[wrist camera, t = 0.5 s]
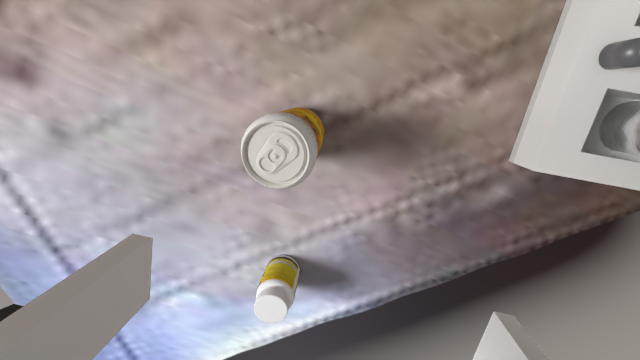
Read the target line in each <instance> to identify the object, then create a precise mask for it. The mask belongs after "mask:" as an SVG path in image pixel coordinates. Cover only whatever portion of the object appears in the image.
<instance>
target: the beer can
mask: <svg viewBox="0 0 640 360" xmlns="http://www.w3.org/2000/svg"><path fill="white" fill-rule="evenodd" d="M323 140H324V127H323V124H322V121H321V120H320V118H319V117H318V116H317V115H316V114H315V113H314V112H312V111H311V110H309V109H306V108H292V109H288V110H284V111H281V112H277V113H273V114H269V115H265V116H263V117H261V118H259V119H257V120H256V121H254V122H253V123H252V124H251V125H250V126H249V127H248V129H247V130H246V132H245V134H244V136H243V139H242V143H241V155H242V160H243V164H244V166H245V168H246V170H247V172H248V173H249V175H250V176H251V177H252V178H253V179H254V180H256V181H257V182H258V183H260V184H262V185H264V186H267V187H271V188H276V189H285V188H290V187H293V186H296V185H298V184H299V183H301V182H302V181H304V180H305V179H306V178H307V177H308V175H309V174H310V173H311V171H312V169H313V167H314V164H315V162H316V159H317V156H318V154H319V151H320V148H321V146H322V143H323Z"/></svg>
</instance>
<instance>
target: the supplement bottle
mask: <svg viewBox="0 0 640 360" xmlns="http://www.w3.org/2000/svg"><path fill="white" fill-rule="evenodd" d="M299 275H300V268H299V265H298V263H297V262H296V261H295V260H294V259H293V258H291V257H289V256H286V255H279V256H276V257H274V258H272V259H271V260H270V261H269V263H268V265H267V267H266V270H265V272H264V274H263V277H262V279H261V282H260V284H259V286H258V289H257V293H256V297H257V298H256V302H255V305H254V311H255V314H256V315H257V317H258V318H259V319H260V320H262V321H264V322H266V323H272V324H273V323H278V322H281V321H282V320H283V319H285V317H286V316H287V313H288V309H289V308H290V307H291V305H292V303H293V301H294V297H295V292H296V288H297V284H298V279H299Z"/></svg>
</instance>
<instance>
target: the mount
mask: <svg viewBox="0 0 640 360" xmlns="http://www.w3.org/2000/svg"><path fill="white" fill-rule="evenodd" d="M635 38H640V0H566V3H565V6H564V9H563V11H562V14H561V17H560V20H559V22H558V25H557V28H556V31H555V33H554V36H553V39H552V42H551V45H550V47H549V50H548V53H547V56H546V58H545V61H544V64H543V67H542V69H541V72H540V75H539V78H538V81H537V83H536V86H535V89H534V92H533V94H532V97H531V100H530V103H529V105H528V108H527V111H526V114H525V117H524V119H523V122H522V125H521V128H520V130H519V133H518V136H517V139H516V142H515V144H514V147H513V150H512V153H511V155H510V158H509V162H512V163H515V164H517V165H520V166H522V167H525V168H528V169H530V170H533V171H537V172H542V173H548V174H553V175H558V176H564V177H569V178H575V179H580V180H585V181H591V182H596V183H602V184H607V185H613V186H618V187H623V188H629V189H634V190H640V156H637V155H632V154H627V153H622V152H617V151H613V150H610V149H608V148H607V147H605V146H604V145H603V143H602V142H601V139H600V136H599V129H600V125H601V122H602V120H603V118H604V117H605V115H606V114H607V113H608V112H609V111H610V110H611V109H613V108H614V107H615V106H617V105H619V104H621V103H624V102H628V101H640V67H632V68H621V69H611V70H607V69H604V68H602V67H601V66H600V64H599V54H600V52H601V51H602V49H603V48H604V47H605V46H607V45H608V44H610V43H614V42H619V41H625V40H630V39H635Z"/></svg>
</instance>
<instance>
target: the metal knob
mask: <svg viewBox="0 0 640 360" xmlns="http://www.w3.org/2000/svg"><path fill="white" fill-rule="evenodd" d="M599 136H600V139H601V142H602V143H603V145H604V146H605V147H607V148H608V149H610V150H613V151H617V152H622V153H627V154H632V155H637V156H640V101H628V102H624V103H621V104H619V105H617V106H615V107H614V108H613V109H611V110H610V111H609V112H608V113H607V114H606V115H605V117H604V118H603V120H602V122H601V125H600V129H599Z"/></svg>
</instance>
